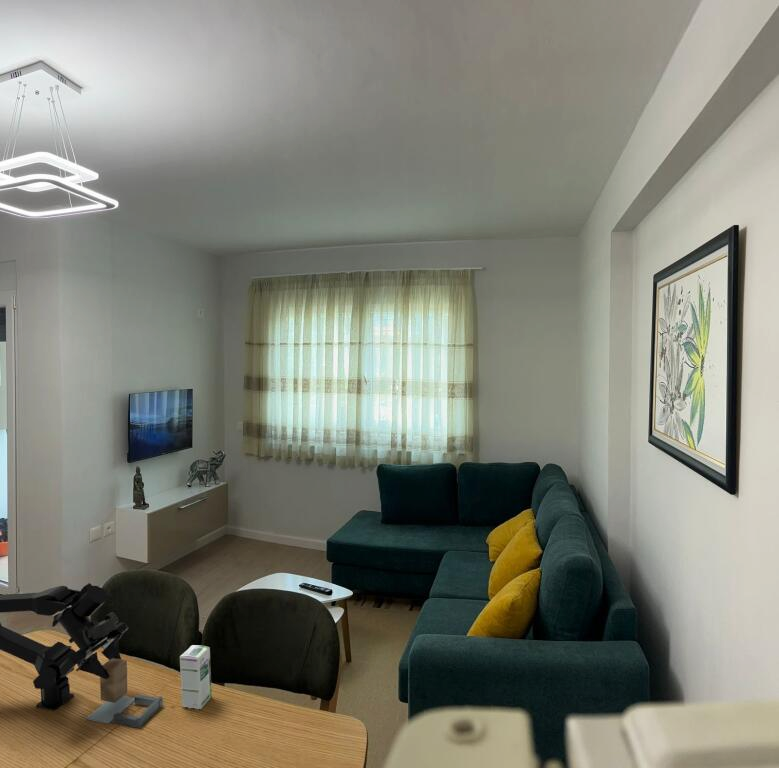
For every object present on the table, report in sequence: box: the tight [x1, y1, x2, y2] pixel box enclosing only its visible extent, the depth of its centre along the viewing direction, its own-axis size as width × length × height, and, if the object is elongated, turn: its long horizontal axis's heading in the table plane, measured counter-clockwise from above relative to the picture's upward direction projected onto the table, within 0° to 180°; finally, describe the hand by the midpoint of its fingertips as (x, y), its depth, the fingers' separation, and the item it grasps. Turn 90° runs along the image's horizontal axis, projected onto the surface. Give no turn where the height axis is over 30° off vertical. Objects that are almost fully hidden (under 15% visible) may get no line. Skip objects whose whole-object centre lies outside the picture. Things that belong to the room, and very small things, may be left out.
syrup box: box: [179, 644, 213, 710], centre depth 146 cm, size 6×6×14 cm
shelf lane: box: [112, 693, 164, 729], centre depth 141 cm, size 8×9×2 cm
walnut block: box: [99, 658, 128, 703], centre depth 143 cm, size 4×4×9 cm
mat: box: [85, 695, 135, 725], centre depth 144 cm, size 7×10×1 cm
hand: (114, 672), depth 143 cm, fingers closed on walnut block, 4 cm apart
